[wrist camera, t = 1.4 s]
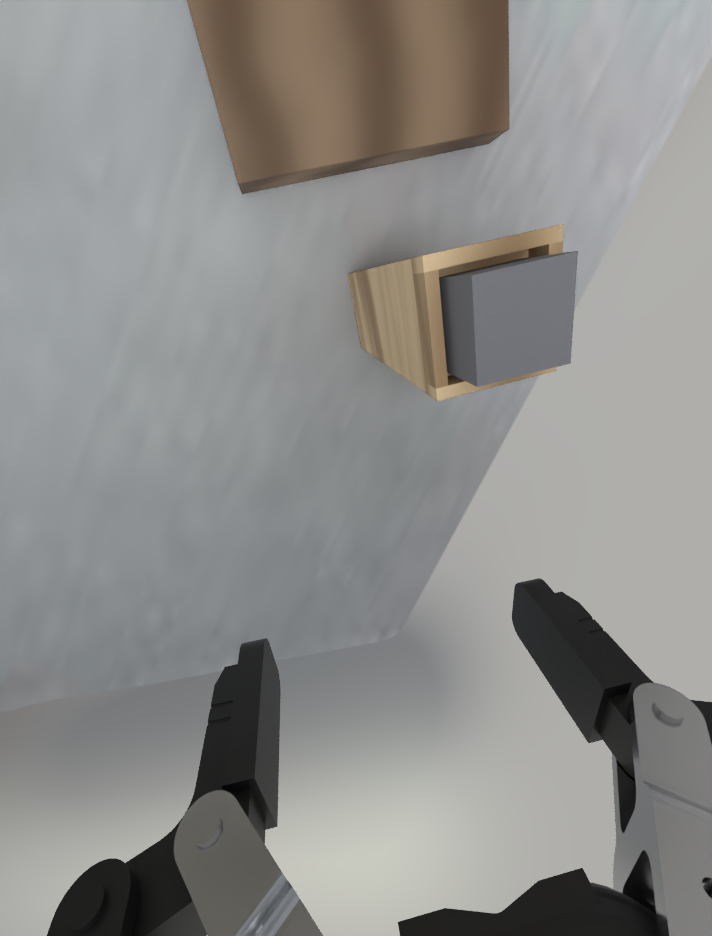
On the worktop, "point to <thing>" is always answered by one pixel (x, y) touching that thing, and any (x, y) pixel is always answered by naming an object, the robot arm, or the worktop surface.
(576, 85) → the worktop surface
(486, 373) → the block
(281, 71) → the block
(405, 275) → the wooden square tube
